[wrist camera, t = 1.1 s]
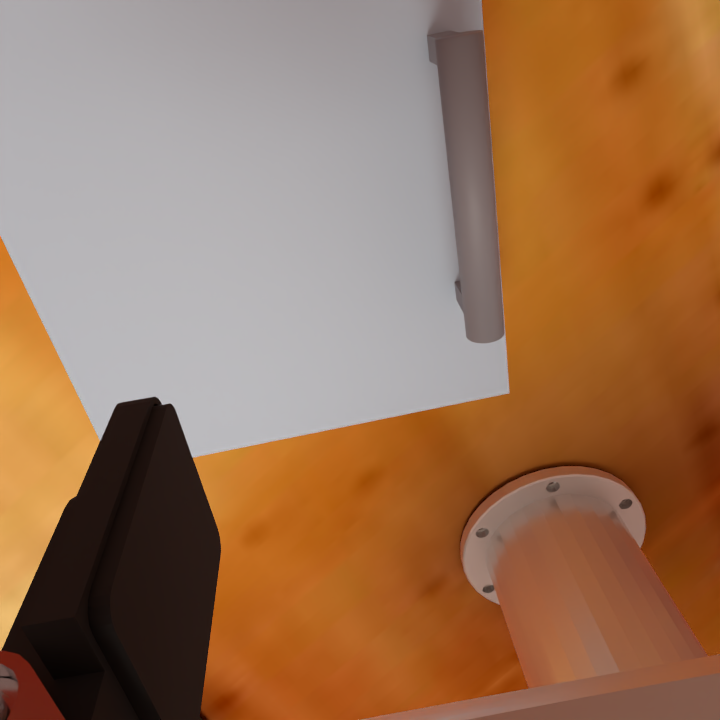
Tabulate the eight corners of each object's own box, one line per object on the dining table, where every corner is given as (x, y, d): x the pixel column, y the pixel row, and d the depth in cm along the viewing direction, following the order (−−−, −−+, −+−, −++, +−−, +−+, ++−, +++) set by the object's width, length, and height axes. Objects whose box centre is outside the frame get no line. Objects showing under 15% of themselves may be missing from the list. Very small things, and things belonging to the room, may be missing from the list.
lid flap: (505, 385, 29) (536, 442, 26) (118, 464, 29) (94, 532, 26) (464, -168, 19) (506, -204, 16) (-126, -45, 19) (-222, -52, 16)
